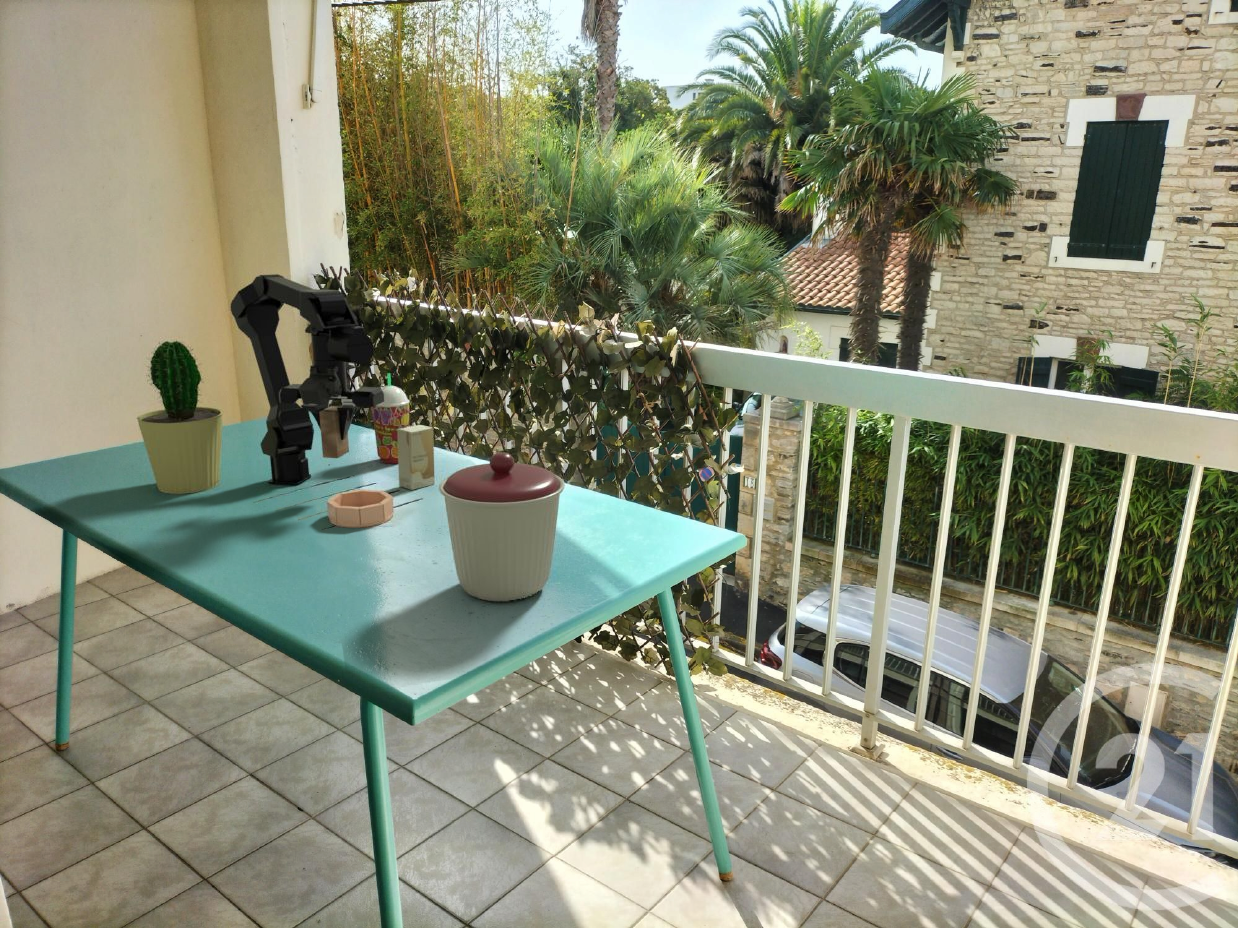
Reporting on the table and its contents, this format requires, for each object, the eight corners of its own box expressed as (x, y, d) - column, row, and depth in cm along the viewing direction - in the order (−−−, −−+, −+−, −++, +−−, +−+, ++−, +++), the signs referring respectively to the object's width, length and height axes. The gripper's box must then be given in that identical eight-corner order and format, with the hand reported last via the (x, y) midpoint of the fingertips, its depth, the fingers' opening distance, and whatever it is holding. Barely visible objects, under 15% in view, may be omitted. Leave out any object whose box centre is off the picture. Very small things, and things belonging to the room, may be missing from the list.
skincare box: (412, 490, 174) (409, 432, 171) (398, 486, 177) (395, 429, 174) (436, 483, 179) (434, 426, 176) (422, 479, 182) (420, 423, 179)
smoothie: (367, 463, 193) (361, 375, 188) (387, 454, 201) (382, 369, 195) (400, 467, 191) (395, 378, 185) (419, 457, 199) (415, 372, 193)
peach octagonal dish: (318, 525, 154) (317, 506, 153) (345, 505, 165) (344, 488, 164) (378, 529, 152) (377, 510, 152) (401, 509, 163) (400, 491, 162)
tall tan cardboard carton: (322, 457, 164) (319, 411, 162) (334, 451, 169) (331, 406, 167) (337, 458, 164) (334, 412, 162) (349, 451, 169) (346, 406, 166)
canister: (434, 572, 135) (428, 442, 129) (545, 559, 141) (545, 434, 135) (455, 622, 118) (449, 475, 113) (579, 604, 125) (581, 464, 119)
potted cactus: (245, 476, 182) (230, 334, 174) (204, 498, 167) (186, 344, 159) (176, 472, 183) (158, 331, 175) (129, 494, 168) (107, 341, 160)
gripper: (259, 363, 155) (267, 447, 159) (358, 367, 153) (363, 452, 157) (290, 354, 166) (297, 433, 170) (383, 358, 163) (387, 437, 168)
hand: (335, 439), depth 166 cm, fingers closed on tall tan cardboard carton, 3 cm apart
